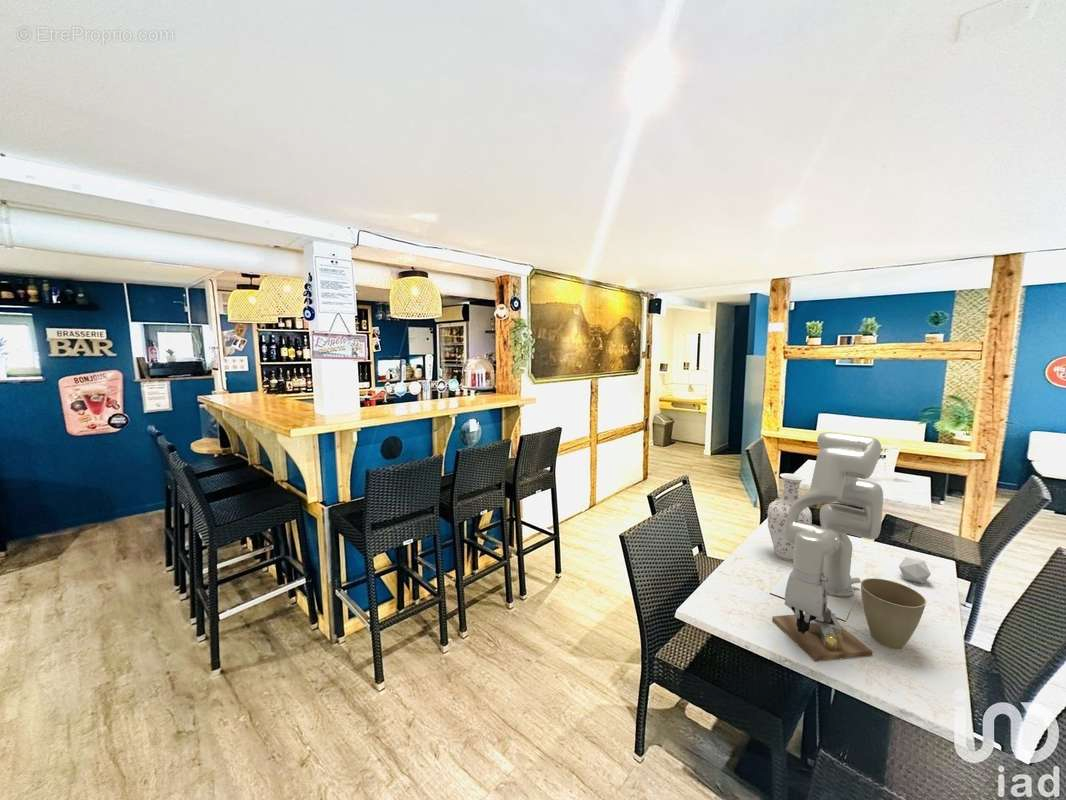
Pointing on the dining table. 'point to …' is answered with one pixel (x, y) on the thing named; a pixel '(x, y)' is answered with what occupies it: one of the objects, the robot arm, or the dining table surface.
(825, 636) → the square frame with handle
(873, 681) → the dining table surface
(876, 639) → the plant pot
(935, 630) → the dining table surface
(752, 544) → the dining table surface
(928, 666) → the dining table surface
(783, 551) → the vase
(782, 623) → the board
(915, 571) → the die
